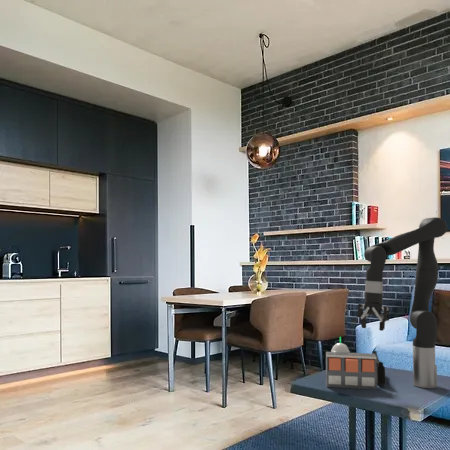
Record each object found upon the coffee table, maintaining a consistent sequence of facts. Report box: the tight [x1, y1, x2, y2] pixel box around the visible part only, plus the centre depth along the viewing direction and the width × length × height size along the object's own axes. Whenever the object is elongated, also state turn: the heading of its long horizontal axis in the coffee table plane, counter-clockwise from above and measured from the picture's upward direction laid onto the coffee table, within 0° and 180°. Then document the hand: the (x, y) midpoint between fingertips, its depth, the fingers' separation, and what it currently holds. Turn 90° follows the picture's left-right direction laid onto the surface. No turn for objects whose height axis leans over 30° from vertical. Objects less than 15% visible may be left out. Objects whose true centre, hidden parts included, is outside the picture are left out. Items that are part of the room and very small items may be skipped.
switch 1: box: [328, 357, 341, 371], centre depth 214 cm, size 5×5×5 cm
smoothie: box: [330, 336, 351, 353], centre depth 223 cm, size 8×8×20 cm
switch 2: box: [345, 358, 358, 372], centre depth 211 cm, size 5×5×5 cm
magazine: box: [371, 350, 387, 386], centre depth 227 cm, size 17×3×30 cm
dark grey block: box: [325, 351, 378, 391], centre depth 214 cm, size 21×6×14 cm, turn 80°
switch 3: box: [361, 359, 374, 372], centre depth 211 cm, size 5×5×5 cm
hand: (372, 329), depth 213 cm, fingers open, 8 cm apart
